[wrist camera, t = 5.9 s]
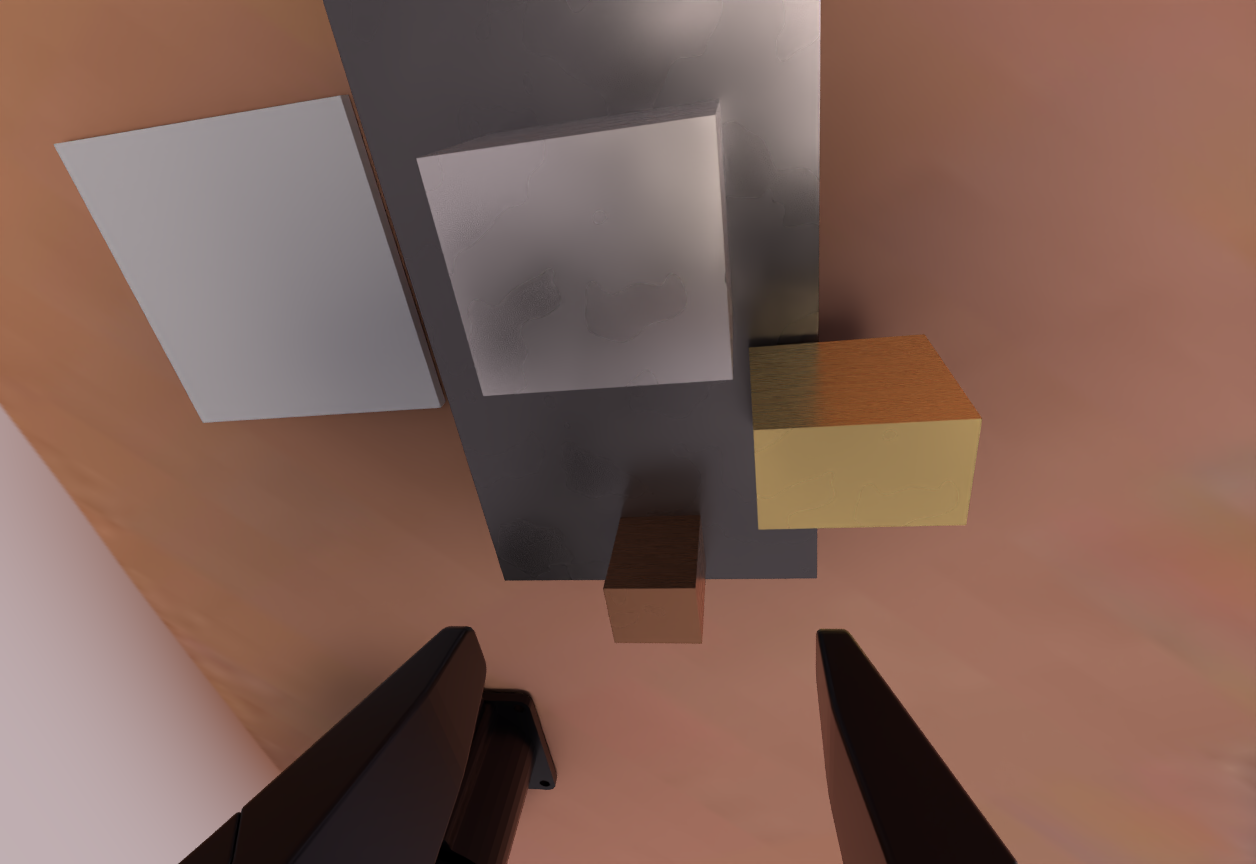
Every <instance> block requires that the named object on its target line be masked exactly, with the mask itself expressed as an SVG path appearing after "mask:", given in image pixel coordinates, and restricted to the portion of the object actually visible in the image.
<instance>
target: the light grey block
mask: <svg viewBox="0 0 1256 864" xmlns="http://www.w3.org/2000/svg"><path fill="white" fill-rule="evenodd" d="M416 159H417V163H418V166H419V170H420V174H421V177H422V181H423V184H424V188H425V191H426V195H427V198H428V202H429V205H430V209H431V212H432V216H433V220H434V223H435V227H436V230H437V234H438V237H439V241H440V244H441V248H442V251H443V255H444V259H445V262H446V266H447V269H448V273H449V276H450V280H451V283H452V287H453V290H454V294H455V297H456V301H457V305H458V308H459V312H460V315H461V319H462V322H463V326H464V329H465V333H466V336H467V340H468V343H469V347H470V351H471V354H472V358H473V361H474V365H475V368H476V372H477V375H478V379H479V382H480V386H481V390H482V393H483V396H491V395H506V394H521V393H536V392H551V391H567V390H582V389H597V388H612V387H627V386H642V385H657V384H672V383H688V382H703V381H718V380H733V305H732V289H731V273H730V257H729V241H728V225H727V209H726V193H725V177H724V161H723V145H722V129H721V113H720V99H717V100H710V101H703V102H697V103H690V104H683V105H677V106H670V107H663V108H656V109H650V110H643V111H636V112H630V113H623V114H616V115H610V116H603V117H596V118H590V119H583V120H576V121H570V122H563V123H556V124H550V125H543V126H536V127H530V128H523V129H516V130H510V131H503V132H496V133H491V134H488V135H485V136H482V137H479V138H476V139H473V140H470V141H467V142H464V143H461V144H458V145H455V146H452V147H449V148H446V149H443V150H440V151H437V152H434V153H431V154H428V155H425V156H422V157H419V158H416Z"/></svg>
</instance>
